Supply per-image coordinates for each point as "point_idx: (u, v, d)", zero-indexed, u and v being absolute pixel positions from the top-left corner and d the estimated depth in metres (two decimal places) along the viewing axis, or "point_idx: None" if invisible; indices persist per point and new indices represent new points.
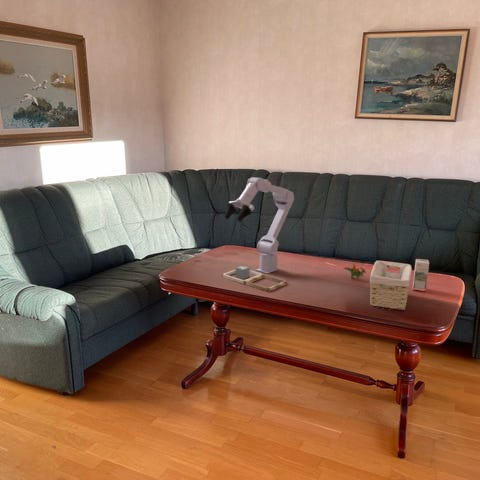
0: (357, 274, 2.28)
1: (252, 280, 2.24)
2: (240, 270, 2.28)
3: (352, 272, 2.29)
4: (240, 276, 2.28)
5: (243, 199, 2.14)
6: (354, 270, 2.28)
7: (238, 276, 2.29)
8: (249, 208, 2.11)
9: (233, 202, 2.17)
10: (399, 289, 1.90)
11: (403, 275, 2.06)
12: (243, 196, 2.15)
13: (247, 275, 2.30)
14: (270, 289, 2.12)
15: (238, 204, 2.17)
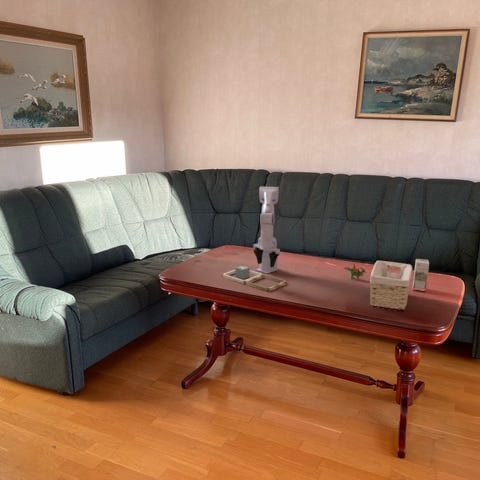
0: (357, 274, 2.28)
1: (252, 280, 2.24)
2: (240, 270, 2.28)
3: (352, 272, 2.29)
4: (240, 276, 2.28)
5: (265, 245, 2.13)
6: (354, 270, 2.28)
7: (238, 276, 2.29)
8: None
9: (257, 247, 2.18)
10: (399, 289, 1.90)
11: (404, 275, 2.05)
12: (264, 242, 2.13)
13: (247, 275, 2.30)
14: (270, 289, 2.12)
15: None
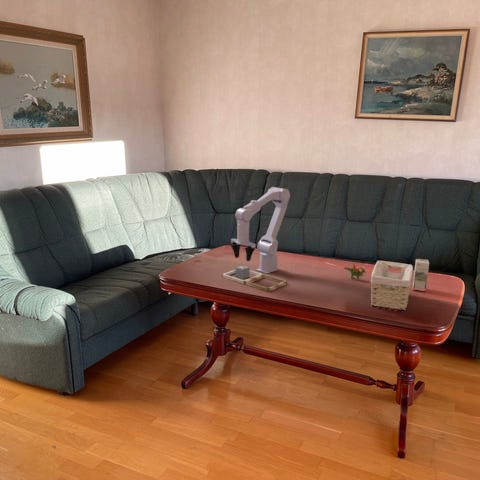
0: (357, 274, 2.28)
1: (252, 280, 2.24)
2: (240, 270, 2.28)
3: (352, 272, 2.29)
4: (240, 276, 2.28)
5: (242, 240, 2.23)
6: (354, 270, 2.28)
7: (238, 276, 2.29)
8: (251, 247, 2.22)
9: (235, 241, 2.28)
10: (400, 289, 1.90)
11: (404, 275, 2.05)
12: (240, 237, 2.23)
13: (247, 275, 2.30)
14: (270, 289, 2.12)
15: None
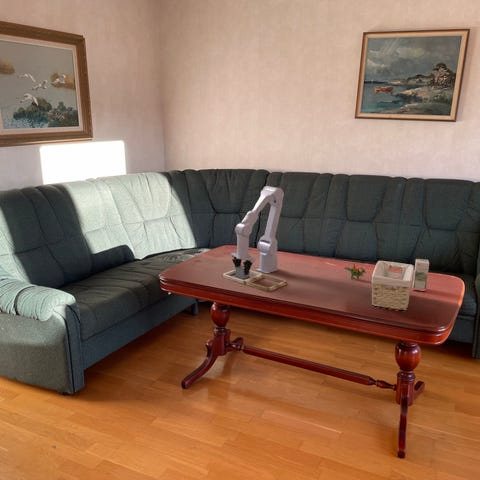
0: (357, 274, 2.28)
1: (252, 280, 2.24)
2: (240, 270, 2.27)
3: (352, 272, 2.29)
4: (240, 276, 2.28)
5: (241, 255, 2.25)
6: (354, 270, 2.28)
7: (238, 276, 2.29)
8: None
9: (234, 256, 2.30)
10: (401, 289, 1.89)
11: (405, 275, 2.05)
12: (240, 252, 2.25)
13: (247, 275, 2.30)
14: (270, 289, 2.12)
15: None
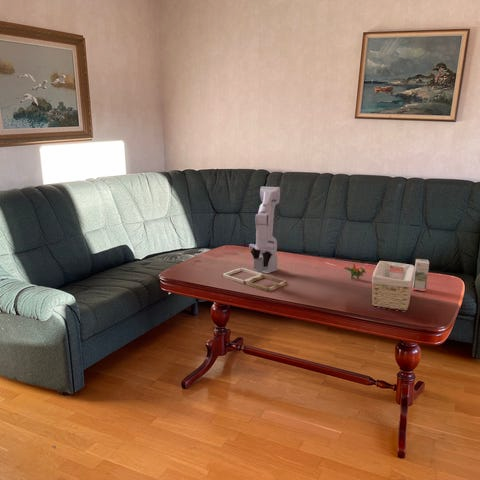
0: (357, 274, 2.28)
1: (252, 280, 2.24)
2: (259, 261, 2.18)
3: (352, 272, 2.29)
4: (259, 268, 2.19)
5: (261, 245, 2.16)
6: (354, 270, 2.28)
7: (257, 268, 2.20)
8: (271, 253, 2.15)
9: (253, 247, 2.20)
10: (401, 289, 1.89)
11: (406, 276, 2.05)
12: (259, 242, 2.16)
13: (266, 267, 2.20)
14: (270, 289, 2.12)
15: None
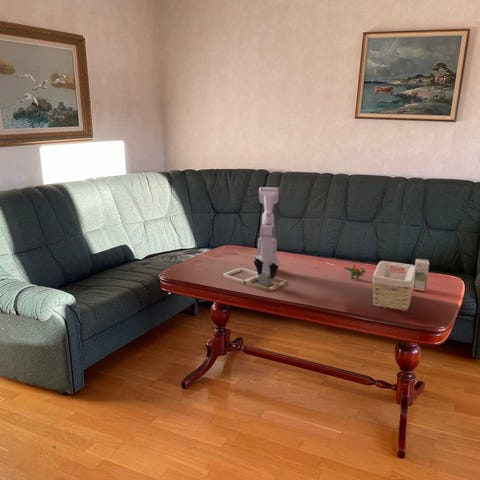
0: (357, 274, 2.28)
1: (252, 280, 2.24)
2: (263, 277, 2.18)
3: (352, 272, 2.29)
4: (263, 283, 2.19)
5: (266, 257, 2.15)
6: (354, 270, 2.28)
7: (261, 283, 2.20)
8: (276, 265, 2.14)
9: (258, 258, 2.20)
10: (402, 290, 1.89)
11: (407, 276, 2.05)
12: (264, 254, 2.15)
13: (270, 282, 2.20)
14: (270, 289, 2.12)
15: None
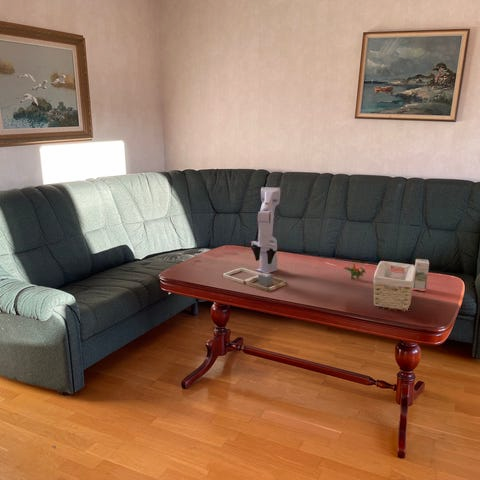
0: (357, 274, 2.28)
1: (252, 280, 2.24)
2: (263, 277, 2.18)
3: (352, 272, 2.29)
4: (263, 283, 2.19)
5: (263, 243, 2.19)
6: (354, 270, 2.28)
7: (261, 283, 2.20)
8: None
9: (255, 244, 2.24)
10: (403, 290, 1.89)
11: (407, 276, 2.05)
12: (261, 239, 2.19)
13: (270, 282, 2.20)
14: (270, 289, 2.12)
15: None
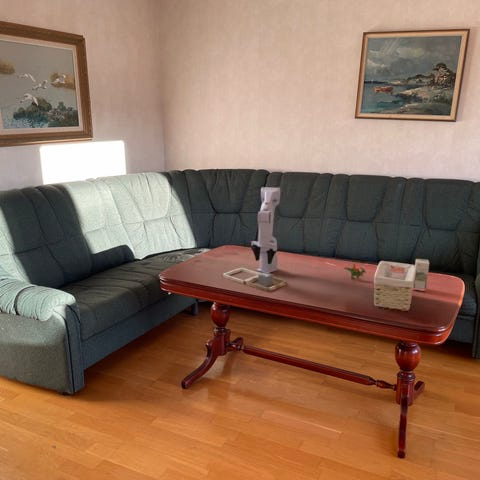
0: (357, 274, 2.28)
1: (252, 280, 2.24)
2: (263, 277, 2.18)
3: (352, 272, 2.29)
4: (263, 283, 2.19)
5: (263, 243, 2.19)
6: (354, 270, 2.28)
7: (261, 283, 2.20)
8: None
9: (255, 244, 2.24)
10: (403, 290, 1.89)
11: (407, 276, 2.05)
12: (261, 239, 2.19)
13: (270, 282, 2.20)
14: (270, 289, 2.12)
15: None
